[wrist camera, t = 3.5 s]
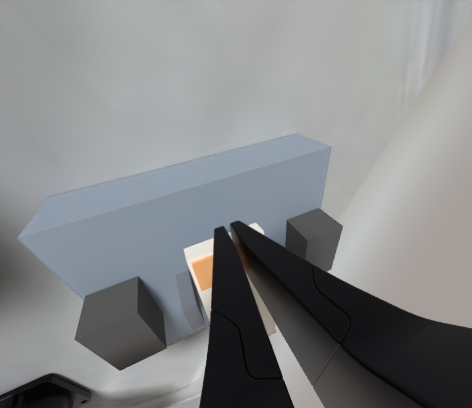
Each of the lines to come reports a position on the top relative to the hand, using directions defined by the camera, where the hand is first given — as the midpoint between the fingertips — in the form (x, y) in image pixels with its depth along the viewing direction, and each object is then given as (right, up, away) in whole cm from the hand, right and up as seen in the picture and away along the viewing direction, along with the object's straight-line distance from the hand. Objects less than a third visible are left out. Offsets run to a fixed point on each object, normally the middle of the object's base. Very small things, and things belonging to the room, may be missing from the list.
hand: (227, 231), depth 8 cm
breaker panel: (-1, -1, +6) cm, 7 cm away
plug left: (-6, -4, +3) cm, 8 cm away
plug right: (+5, -1, +6) cm, 7 cm away
